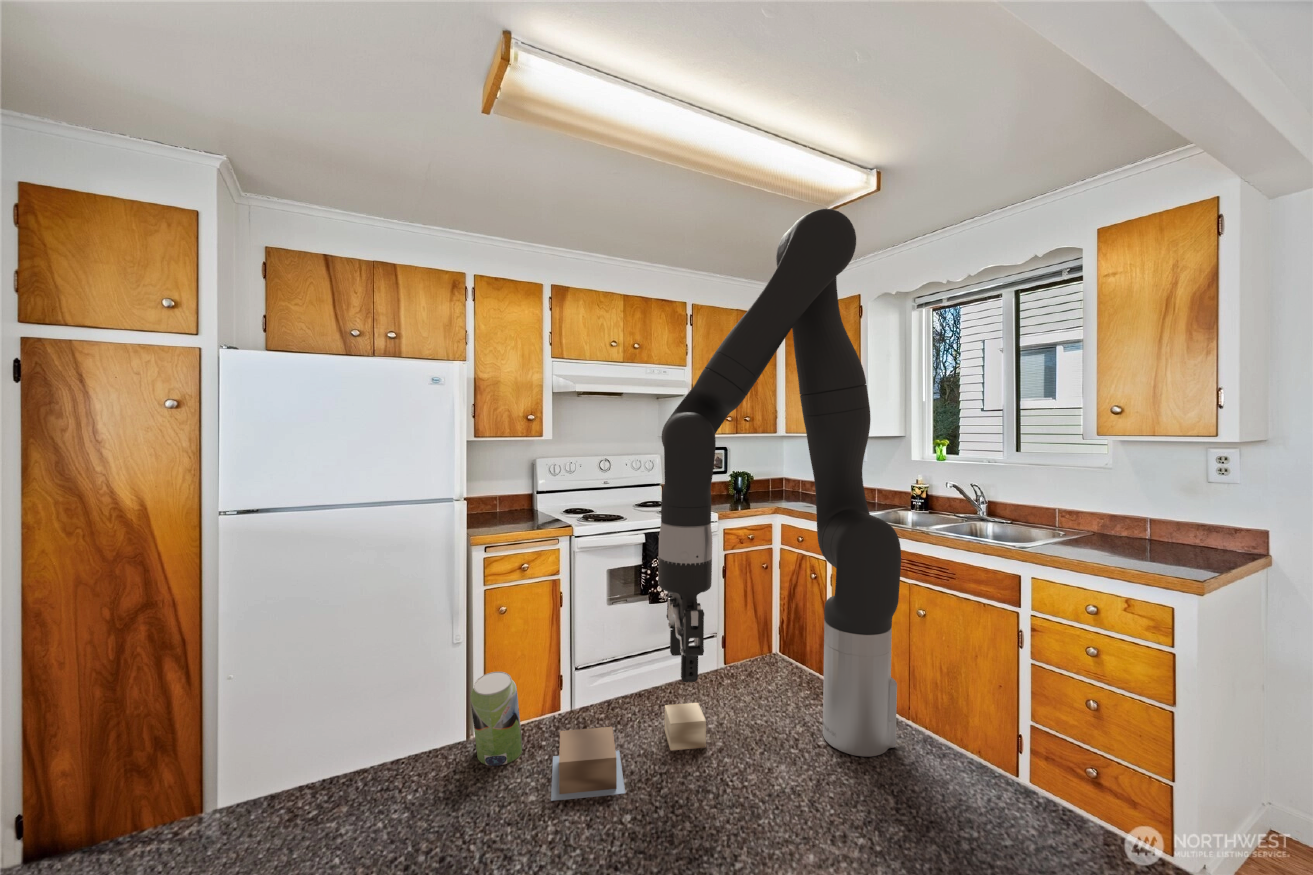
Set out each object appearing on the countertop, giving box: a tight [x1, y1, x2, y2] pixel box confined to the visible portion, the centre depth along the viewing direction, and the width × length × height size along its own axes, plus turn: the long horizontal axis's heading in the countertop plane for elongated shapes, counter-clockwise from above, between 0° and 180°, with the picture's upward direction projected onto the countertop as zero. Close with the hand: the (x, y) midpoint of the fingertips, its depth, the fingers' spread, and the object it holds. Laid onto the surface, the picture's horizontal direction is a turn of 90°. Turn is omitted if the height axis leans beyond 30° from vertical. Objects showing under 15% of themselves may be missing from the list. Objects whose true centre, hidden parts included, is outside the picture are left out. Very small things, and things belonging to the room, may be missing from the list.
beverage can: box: [469, 671, 524, 767], centre depth 79 cm, size 6×7×12 cm
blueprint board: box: [550, 749, 626, 802], centre depth 75 cm, size 16×12×1 cm
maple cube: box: [664, 702, 707, 751], centre depth 83 cm, size 5×5×5 cm
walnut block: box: [558, 726, 617, 794], centre depth 75 cm, size 7×7×4 cm
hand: (683, 667), depth 82 cm, fingers open, 8 cm apart
